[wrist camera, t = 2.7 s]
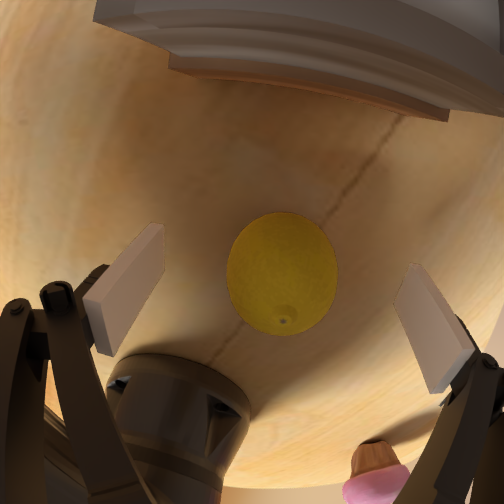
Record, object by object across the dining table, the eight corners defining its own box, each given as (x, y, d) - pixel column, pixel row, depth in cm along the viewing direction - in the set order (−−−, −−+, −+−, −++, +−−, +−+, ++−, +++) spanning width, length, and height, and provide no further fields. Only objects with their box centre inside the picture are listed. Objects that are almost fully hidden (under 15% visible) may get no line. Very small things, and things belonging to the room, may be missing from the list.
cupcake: (337, 461, 34) (341, 519, 25) (340, 438, 30) (346, 508, 21) (395, 450, 33) (405, 506, 24) (407, 425, 29) (422, 490, 20)
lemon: (341, 219, 18) (379, 296, 11) (297, 287, 20) (305, 380, 13) (260, 178, 17) (248, 234, 10) (222, 254, 19) (194, 340, 12)
